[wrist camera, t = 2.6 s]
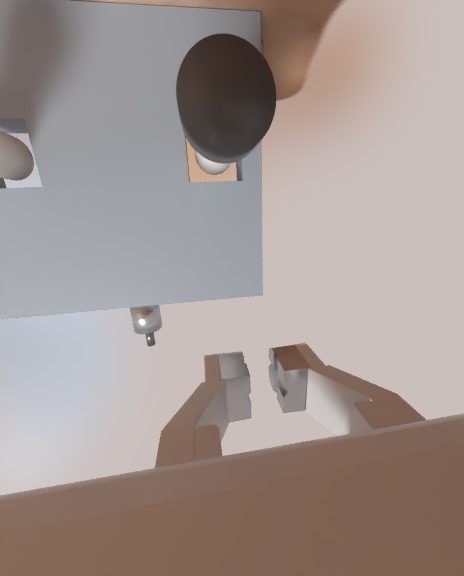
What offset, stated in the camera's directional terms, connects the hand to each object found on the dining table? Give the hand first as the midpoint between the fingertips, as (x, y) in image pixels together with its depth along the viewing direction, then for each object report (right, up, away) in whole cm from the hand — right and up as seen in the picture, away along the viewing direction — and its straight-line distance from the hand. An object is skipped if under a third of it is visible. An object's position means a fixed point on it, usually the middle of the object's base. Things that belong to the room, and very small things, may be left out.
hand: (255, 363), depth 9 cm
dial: (-10, +2, +14) cm, 17 cm away
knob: (-2, +15, +5) cm, 16 cm away
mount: (-11, +23, +10) cm, 28 cm away
